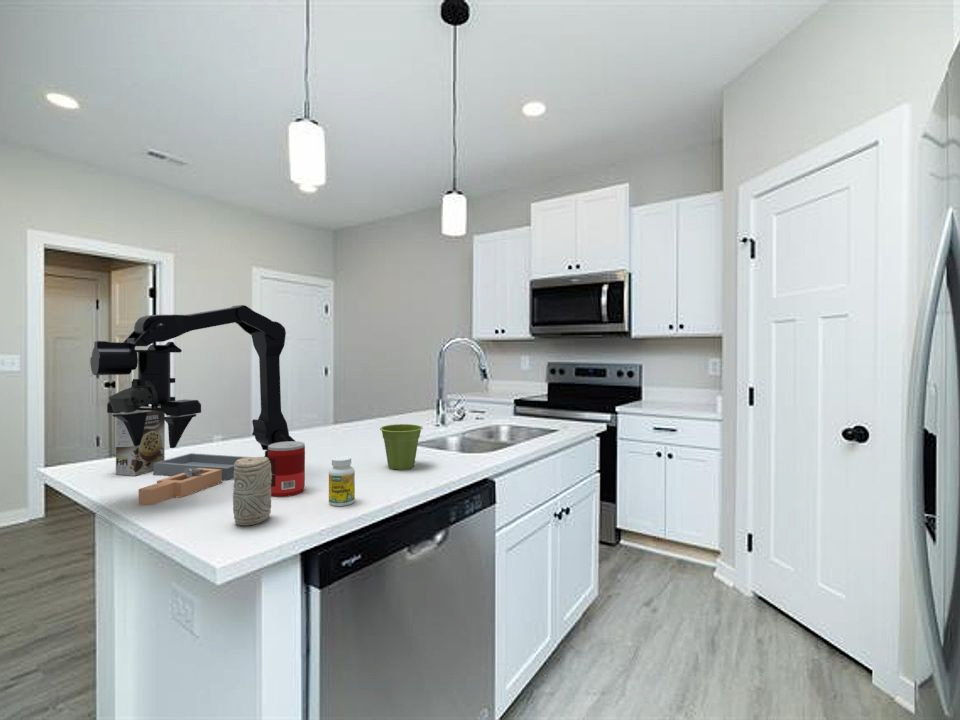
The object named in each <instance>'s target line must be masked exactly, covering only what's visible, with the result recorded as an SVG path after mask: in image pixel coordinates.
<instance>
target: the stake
mask: <svg viewBox="0 0 960 720" xmlns="http://www.w3.org/2000/svg"><path fill="white" fill-rule="evenodd" d="M184 474H186V479H187V478H191V477H194V476H196V474H198V475H199V474H203V469H196V468H187V469H184Z"/></svg>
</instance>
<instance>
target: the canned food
mask: <svg viewBox="0 0 960 720" xmlns="http://www.w3.org/2000/svg"><path fill="white" fill-rule="evenodd" d="M268 459H269V461H270V463H271V472H272V480H271V497H275V498H278V497H279V498H281V497H292V496H295V495H296V496H297V495H299V494H301V493H303V492H304V489H305V487H306V486H305V485H306V484H305V483H306V482H305V480H306V477H305V475H306V471H305V470H306V469H305V468H306V445H305V442H303V441H296V440H295V441H287V442H278V443H273V444H270V445H269V446H268Z"/></svg>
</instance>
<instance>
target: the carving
mask: <svg viewBox="0 0 960 720" xmlns="http://www.w3.org/2000/svg"><path fill="white" fill-rule="evenodd" d="M251 457H252V458H242V459H238V460H237V461H236V462H235V463H234V465H235V466H234V469H235V470H234V478H233V489H232V490H233V491H232V505H233V507H232V511H233V512H232V513H233V519H234V522H235V523H236V525H238V526H254V525H257V524H260V523H262V522H263V521H265V520H266V519H268V518H269V517H270V514H271V513H272V510H271V509H272V499H271V498H272V496H271V480H272V472H271V463H270V461H269V459H268V458H267V457H264V456H256V457H255V456H251Z"/></svg>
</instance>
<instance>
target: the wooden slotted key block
mask: <svg viewBox="0 0 960 720" xmlns="http://www.w3.org/2000/svg"><path fill="white" fill-rule="evenodd" d="M197 469H203V474H199V475H198V474H196V476H194V477H191V478H187V479H186V474H184V473H181V474H178V475H174V476H168V477H165V478H161V479H158V480H156V483H154V484H150V485H148V486H144V487H141V488H139V489H138V505H143V506H153V505H155V504H158V503H160V502H161V503H162V502H164V501H166V500H170V499H173V498H183V497H186V496H188V495H191V494H194V493H197V492H200V491H202V489H203V490H206V489H208V488H211V487H213V485H214V486H217V485H219V484H221V482H223V480H222V469H208V468H197ZM218 483H219V484H218ZM210 486H211V487H210ZM207 487H208V488H207ZM199 490H200V491H199Z"/></svg>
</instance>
